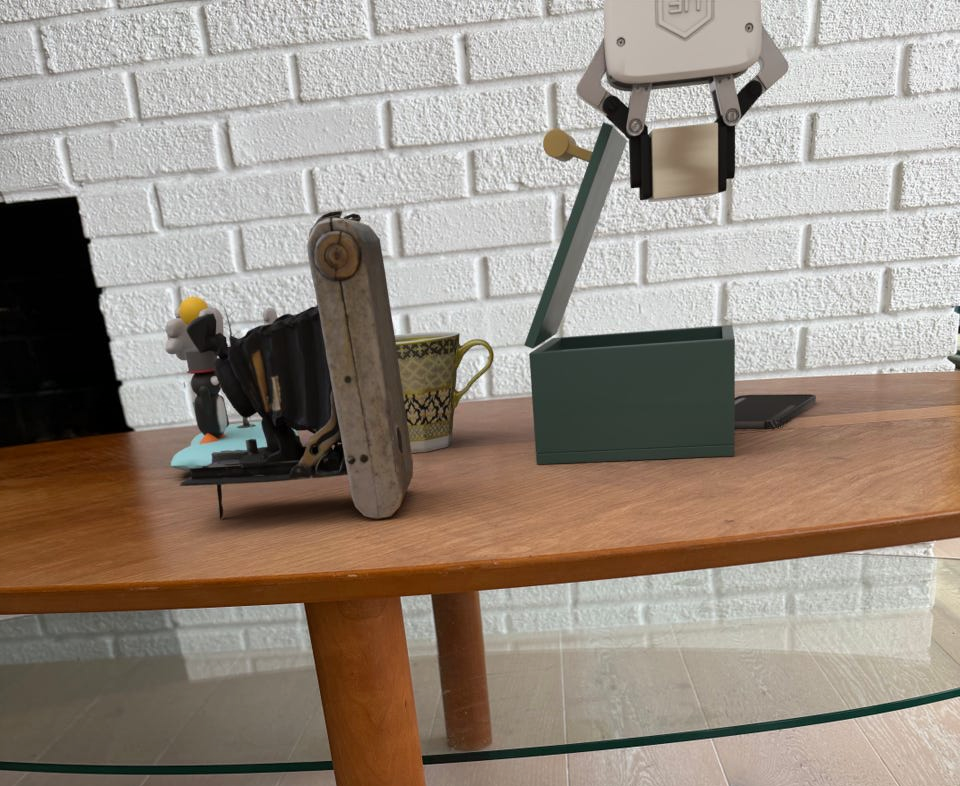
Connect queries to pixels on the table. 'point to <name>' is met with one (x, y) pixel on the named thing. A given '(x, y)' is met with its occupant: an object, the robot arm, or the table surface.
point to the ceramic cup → (432, 384)
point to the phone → (770, 410)
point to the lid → (575, 222)
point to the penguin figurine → (208, 390)
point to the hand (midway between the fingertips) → (682, 192)
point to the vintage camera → (320, 380)
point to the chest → (635, 396)
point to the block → (684, 162)
